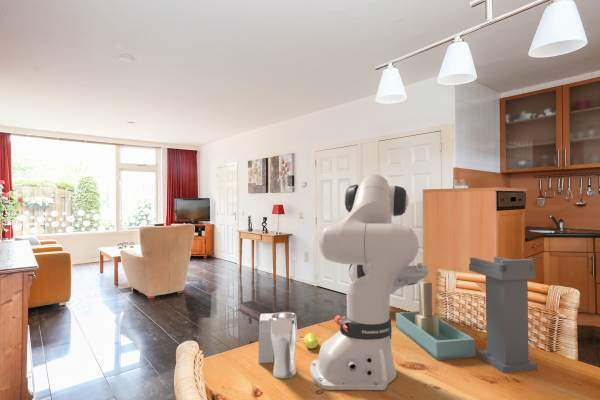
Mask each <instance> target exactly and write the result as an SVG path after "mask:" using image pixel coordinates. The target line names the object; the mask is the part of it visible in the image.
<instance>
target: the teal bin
mask: <svg viewBox="0 0 600 400" xmlns="http://www.w3.org/2000/svg"><path fill="white" fill-rule="evenodd" d="M415 314H419V310H417V311H405V312H395V327H396V328H397V329H398V330H399V331H400V332H401V333H403V334H404V335H405V336H407V338H409V339H410V340H411V341H412V342H414V343H415V344H416V345H417V346H419V347H420V348H421V349H422V350H423V351H425V352H426V353H427V354H428V355H430V356H431V357H432V358H433V359H434V360H435V361H444V360H455V359H465V358H466V359H467V358H475V357H476V339H475V338H473V337H471V335H469V334H467V333H465V332H463V331H462V330H460V329H459V328H457V327H455V326H453V325H451V324H450V323H449V322H447V321H445V320H443V319H441V318H440V317H438V328H439V336H430V335H429V334H428V333H426V332H425V331H423V330H422V329H421V328H419V327H418V326H416V325H415Z"/></svg>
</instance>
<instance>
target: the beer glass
mask: <svg viewBox="0 0 600 400" xmlns="http://www.w3.org/2000/svg"><path fill="white" fill-rule="evenodd" d="M297 339H298V323H297V314H296V313H294V312H291V311H280V312H274V314H273V315H272V316H271V342H272V348H273V354H274V358H273V368H272V375H273V377H274V378H277V379H280V380H287V379H291V378H293V377H295V376H296V374H297V370H296V364H295V354H296V348H297V341H298V340H297Z"/></svg>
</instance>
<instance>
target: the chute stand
mask: <svg viewBox="0 0 600 400" xmlns="http://www.w3.org/2000/svg"><path fill="white" fill-rule="evenodd" d="M493 259H494V261H490V260H485V259H481V258H478V257H469V261H470V263H469V264H468V271H470V272H472V273H473V272H474V273H476V274H481V275H483V276H485V319H486V320H485V321H486V322H485V325H486V327H485V328H486V329H485V330H486V331H485V333H486V334H485V336H486V339H485V340H486V341H485V342H486V349H481V350H479V349H478V350H477V351H476V356H477V357H478V358H480V359H482V360H483V361H484V362H486V363H487V364H489V365H491V366H493V368H495V369H497V370H498V371H500V372H501V373H503V374H504V373H505V374H508V373H517V372H525V371H535V370H538V364H537V363H536V362H534V361H533V360H531V359H529V354H530V347H529V346H530V345H529V296H528V295H529V293H528V292H529V291H528V286H529V284H528V283H529V282H528V280H534V279H537V277H536V275H537V274H536V270H535V259H532V258H521V259H511V258H507V257H500V256H494V258H493Z"/></svg>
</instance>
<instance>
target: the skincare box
mask: <svg viewBox="0 0 600 400" xmlns="http://www.w3.org/2000/svg"><path fill="white" fill-rule="evenodd" d="M273 314H275V312H274V313H273V312H272V313H271V312H270V313H260V316H259V322H258V328H259V329H258V363H259V364H271V363H272V364H274V354H273V348H272V342H271V316H272V315H273Z"/></svg>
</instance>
